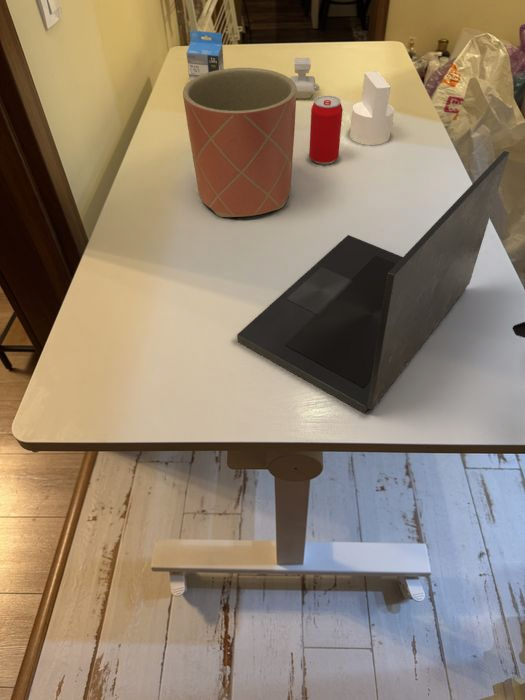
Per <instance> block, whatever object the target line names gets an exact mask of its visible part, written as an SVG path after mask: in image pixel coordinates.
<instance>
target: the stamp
mask: <svg viewBox="0 0 525 700" xmlns="http://www.w3.org/2000/svg"><path fill="white" fill-rule="evenodd" d="M310 70H311V57H294V73H295V74H297V75H290V77H289V78H290V79H291V80H292V81H293V82H294V83H295V85H296V88H297V95H296V99H310V98H311V97H312V95H313V94H314V93H315V92H316V91H318V90H320V85H319V84H318V83H316V77H315V76H313V75H307V74H309V73H310Z"/></svg>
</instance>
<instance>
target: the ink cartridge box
mask: <svg viewBox="0 0 525 700" xmlns="http://www.w3.org/2000/svg"><path fill="white" fill-rule="evenodd" d="M189 33H190V34H189V35H190V42H189V44H188V48H187V51H186V60H187V61H186V63H187V70H188V79H189V82H190V81H191V80H192V79H194V78H196V77H198V76H200V75H203V74H205V73H209V72H212V71H216V70H222V69H225V66H224V65H225V63H224V48H223V34H222V32H213V31H204V30H203V31H201V30H189ZM205 36H206V37H207V38H210V39H205ZM203 38H204V39H203Z"/></svg>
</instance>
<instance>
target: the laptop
mask: <svg viewBox="0 0 525 700" xmlns="http://www.w3.org/2000/svg"><path fill="white" fill-rule="evenodd" d="M403 257H404V256H402V255H400V254H396V253H394V252H391V251H390V250H387V249H384V248H382V247H379V246H377V245H374V244H372V243H369V242H367V241H364V240H362V239H360V238H358V237H355V236H352V235H350V234H347V235H346V236H345V237H344V238H343V239H342V240H341V241H340V242H339V243H337V244H336V245H335V246H333V248H332V249H331V250H330V251H328V252H327V253H326V254H325V255H324V256H323V257H322V258H321V259H319V260H318V261H317V262H316V263H315V264H314V265H313V266H311V267H310V268H309V269H308V270H307V271H306V272H305V273H304V274H303V275H301V277H299V278H298V279H297V280H296V281H295V282H294V283H293V284H291V285H290V287H288V288H287V289H286V290H285V291H284V292H283V293H282V294H280V295H279V296H278V297H277V298H276V299H274V301H273V302H271V304H269V305H268V306H266V308H264V310H262V312H261V313H259V314H258V315H257V316H256V317H255V318H253V320H251V322H249V323H248V324H247V325H246V326H245V327H244V328H242V330H241V331H239V332H238V333H237V334H236V337H237V338H236V340H237V343H239V344H241V345H242V346H244V347H246V348H248V349H250V350H251V351H253V352H255V353H257V354H258V355H260V356H262V357H264V358H266V359H267V360H269V361H271V362H273V363H274V364H276V365H277V366H279V367H282V368H283V369H285V370H286V371H289V372H290V373H292V374H293V375H296V376H297V377H299V378H301V379H303V380H305V381H307V383H309V384H311V385H313V386H314V387H316V388H318V389H320V390H322V391H324V392H325V393H327V394H328V395H330V396H333V397H334V398H336V399H338V400H339V401H342V402H343V403H344V404H347V405H349V406H350V407H351V408H354V409H356V410H357V411H359V412H361V413H362V414H366V412H367V411H368V410H369V408H367V404H368V397H369V391H370V385H371V378H372V372H373V365H374V359H375V353H376V346H377V340H378V334H379V327H380V321H381V315H382V308H383V302H384V295H385V289H386V283H387V276H388V272H389V271H390V270H391V269H392V268H393V267H394V266H395V265H396V264H397V263H398V262H399V261H400V260H401V259H402V258H403Z"/></svg>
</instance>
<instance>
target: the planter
mask: <svg viewBox="0 0 525 700" xmlns="http://www.w3.org/2000/svg"><path fill="white" fill-rule="evenodd" d="M296 95H297V88H296V85H295V83H294V82H293V81H292V80H291V79H290V77H289V76H287V75H285V74H282V73H280V72H278V71H274V70H270V69H265V68H260V67H259V68H258V67H257V68H256V67H231V68H224V69H222V70H216V71H212V72H209V73H205V74H203V75H200V76H198V77H196V78H194V79H192V80H191V81H190V80H189V82H187V83H186V84H185V85H184V87H183V90H182V99H183V104H184V111H185V117H186V125H187V130H188V131H187V132H188V137H189V143H190V150H191V155H192V161H193V166H194V167H193V168H194V174H195V179H196V186H197V191H198V196H199V198H200V200H201V202H202V203H203V204H204V205H206V207H208V208H209V209H211V210H212V211H213V212H214V213H215V214H216V216H218V217H221V218H238V217H239V218H240V217H254V216H259V215H263V214H267V213H270V212H274V211H277V210H280V209H282V208H284V207H285V206H286V204H287V201H288V199H289V196H290V193H291V188H292V175H293V160H294V159H293V157H294V143H295V129H296V112H297V111H296V110H297V98H296Z"/></svg>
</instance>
